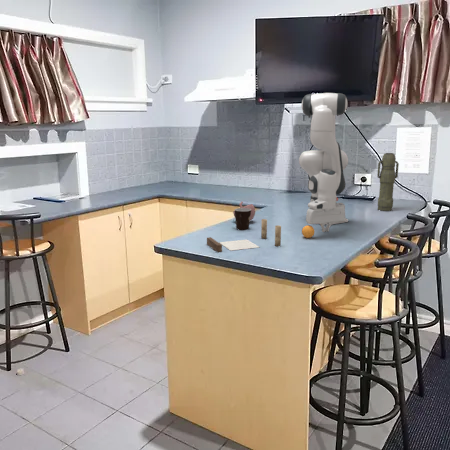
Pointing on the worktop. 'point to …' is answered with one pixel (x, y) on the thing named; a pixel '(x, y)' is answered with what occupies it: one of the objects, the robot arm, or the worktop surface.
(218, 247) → the stopper wall
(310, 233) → the ball
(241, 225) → the coffee mug
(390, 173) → the thermos
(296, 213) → the worktop surface
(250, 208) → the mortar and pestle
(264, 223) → the post
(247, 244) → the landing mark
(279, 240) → the post
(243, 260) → the worktop surface
